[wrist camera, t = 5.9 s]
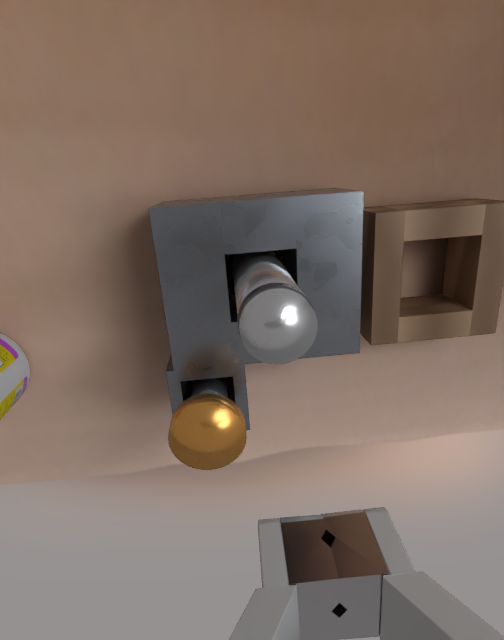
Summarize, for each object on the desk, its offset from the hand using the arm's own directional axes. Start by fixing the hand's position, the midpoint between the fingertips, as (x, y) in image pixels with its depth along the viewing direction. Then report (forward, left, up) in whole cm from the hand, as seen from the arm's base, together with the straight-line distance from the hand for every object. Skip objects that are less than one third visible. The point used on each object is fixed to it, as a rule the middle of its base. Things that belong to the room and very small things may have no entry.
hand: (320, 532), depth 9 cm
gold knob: (+4, +6, -18) cm, 19 cm away
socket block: (0, +1, -22) cm, 22 cm away
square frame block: (-12, -1, -22) cm, 25 cm away
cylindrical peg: (0, -2, -22) cm, 22 cm away
